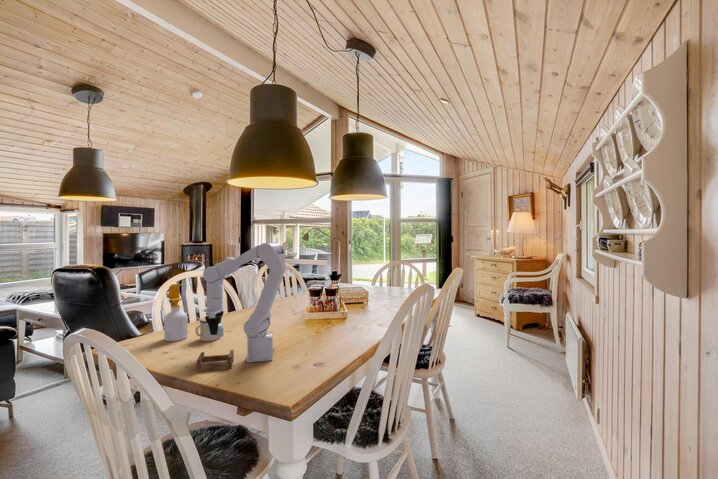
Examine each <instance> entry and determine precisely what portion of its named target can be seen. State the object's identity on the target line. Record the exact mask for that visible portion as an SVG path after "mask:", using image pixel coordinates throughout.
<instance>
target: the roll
mask: <svg viewBox="0 0 718 479" xmlns="http://www.w3.org/2000/svg"><path fill="white" fill-rule="evenodd" d="M224 330H225V325H224V323H222V322H221V324H219V325H218V332H217V335H211V334H210V330H209V326H208V324H206V328H205V337H206V338H210V337H221V338H223V337H224V333H225V331H224Z"/></svg>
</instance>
